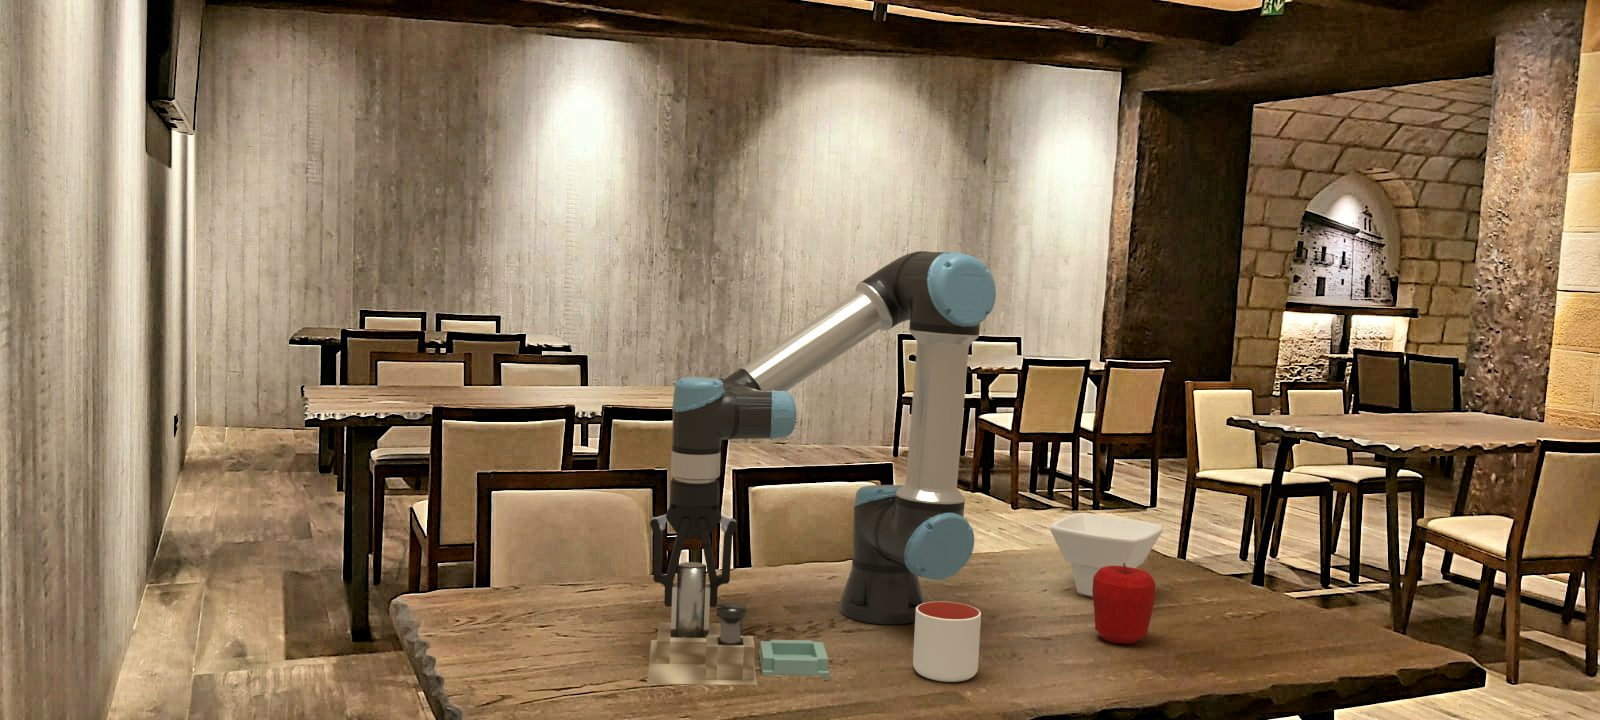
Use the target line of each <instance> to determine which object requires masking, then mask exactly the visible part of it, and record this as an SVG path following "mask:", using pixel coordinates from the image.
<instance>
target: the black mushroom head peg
mask: <svg viewBox="0 0 1600 720" xmlns="http://www.w3.org/2000/svg"><path fill="white" fill-rule="evenodd" d="M716 616H717V617H718V618H720V625H721V634H720V645H740V639H741V636H742V635H741V634H742V633H741V632H742V619H744V618H746V617H747V605H744V604H742V603H737V602H736V603H735V602H725V603H719V604H717V605H716Z"/></svg>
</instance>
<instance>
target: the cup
mask: <svg viewBox="0 0 1600 720" xmlns="http://www.w3.org/2000/svg"><path fill="white" fill-rule="evenodd" d="M981 620H982V612H981V610H980V609H978V608H976V607H974V606H971V605H968V604H965V603H961V602H955V601H953V602H952V601H928V602H925V603H923V604H920V605H918V606H917V607H916V613H915V622H914V635H913V636H914V637H913V638H914V639H913V654H912V656H913V657H912V665H913V668H914V670H915V672H916V673H918V675H920V676H922V677H924V678H926V679H930V680H932V681H938V682H944V683H957V682H959V683H960V682H964V681H967V680H970V679H972V678H973V677H975V676H976V674H977V672H978V669H979V658H980V657H979V653H980V639H981V623H982V622H981Z"/></svg>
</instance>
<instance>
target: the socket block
mask: <svg viewBox="0 0 1600 720" xmlns="http://www.w3.org/2000/svg"><path fill="white" fill-rule="evenodd" d="M657 626H658V627H657V637H656V639H651V641H650V650H649V660H648V667H647V668H648V669H647V670H648V671H647V681H646V685H704V686H705V685H711V686H713V685H714V686H715V685H717V686H719V685H720V686H724V685H725V686H737V685H738V686H758V680H757V674H756V673H757V671H756V665H755V653H756V651H755V649H756V647H755V640H754V636H753V635H741V639H740V645H720V634H721V622H709V630H704V638H675V630H676V629H671V621H669V622H668V621H662V622H661V621H659V622H658V624H657Z"/></svg>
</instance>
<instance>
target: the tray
mask: <svg viewBox="0 0 1600 720" xmlns="http://www.w3.org/2000/svg"><path fill="white" fill-rule="evenodd" d="M758 656H759V657H758V658H759V662H760V668H761V674H762V675H764V676H768V675H769V676H771V675H772V676H822V678H823V681H829V680H830V670H829V657H828V654H827V650H826V648H825V645H824V642H823V641H813V640H810V639H809V640H808V639H770V640H766V641H765V640H760V646H759V650H758Z"/></svg>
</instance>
